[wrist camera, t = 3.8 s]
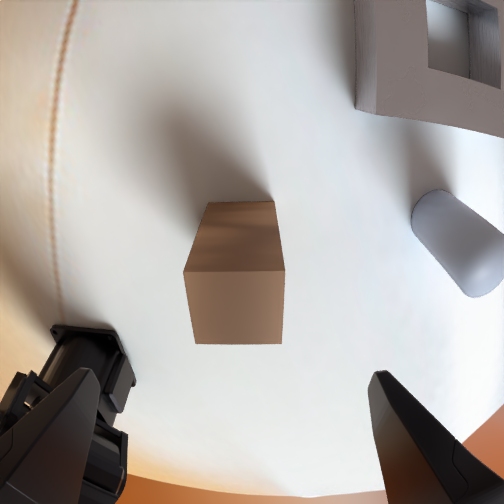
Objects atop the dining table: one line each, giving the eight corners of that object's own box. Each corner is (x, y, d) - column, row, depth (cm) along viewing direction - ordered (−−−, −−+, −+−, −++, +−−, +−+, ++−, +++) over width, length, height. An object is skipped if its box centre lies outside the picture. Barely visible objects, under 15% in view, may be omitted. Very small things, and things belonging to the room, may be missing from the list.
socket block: (355, 109, 15) (375, 114, 12) (349, -55, 10) (365, -77, 7) (495, 133, 14) (525, 144, 12) (493, -8, 10) (521, -13, 7)
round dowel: (406, 242, 18) (450, 300, 13) (416, 188, 17) (472, 233, 11) (450, 242, 18) (499, 294, 13) (462, 191, 17) (520, 234, 11)
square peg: (213, 259, 19) (195, 343, 13) (208, 202, 17) (182, 272, 11) (273, 258, 19) (281, 343, 13) (274, 201, 17) (285, 270, 11)
